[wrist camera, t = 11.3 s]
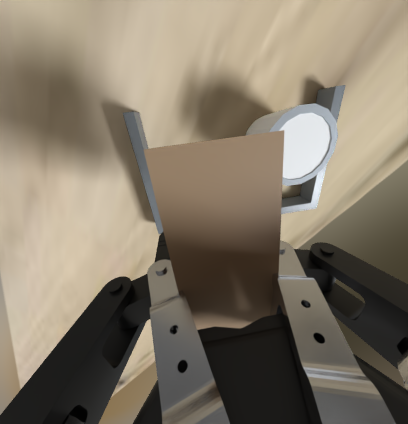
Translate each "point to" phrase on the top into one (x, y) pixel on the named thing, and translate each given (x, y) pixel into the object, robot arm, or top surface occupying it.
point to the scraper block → (222, 223)
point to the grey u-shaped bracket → (305, 201)
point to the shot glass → (301, 139)
